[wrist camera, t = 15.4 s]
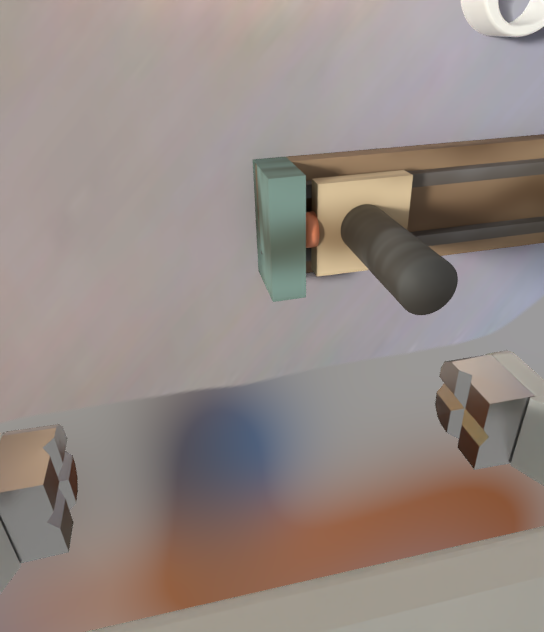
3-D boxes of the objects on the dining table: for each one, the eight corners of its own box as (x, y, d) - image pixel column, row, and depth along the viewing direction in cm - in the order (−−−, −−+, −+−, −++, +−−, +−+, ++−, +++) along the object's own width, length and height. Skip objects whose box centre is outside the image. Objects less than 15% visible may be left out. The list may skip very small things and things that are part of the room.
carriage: (311, 178, 36) (374, 236, 26) (403, 170, 37) (496, 221, 27) (311, 268, 39) (366, 348, 29) (395, 257, 40) (474, 331, 31)
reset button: (296, 207, 37) (305, 219, 35) (309, 206, 37) (319, 217, 35) (296, 240, 38) (306, 254, 36) (309, 239, 39) (319, 252, 36)
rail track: (252, 159, 37) (268, 179, 32) (585, 130, 42) (640, 144, 37) (258, 270, 41) (272, 301, 37) (557, 233, 46) (603, 256, 42)
